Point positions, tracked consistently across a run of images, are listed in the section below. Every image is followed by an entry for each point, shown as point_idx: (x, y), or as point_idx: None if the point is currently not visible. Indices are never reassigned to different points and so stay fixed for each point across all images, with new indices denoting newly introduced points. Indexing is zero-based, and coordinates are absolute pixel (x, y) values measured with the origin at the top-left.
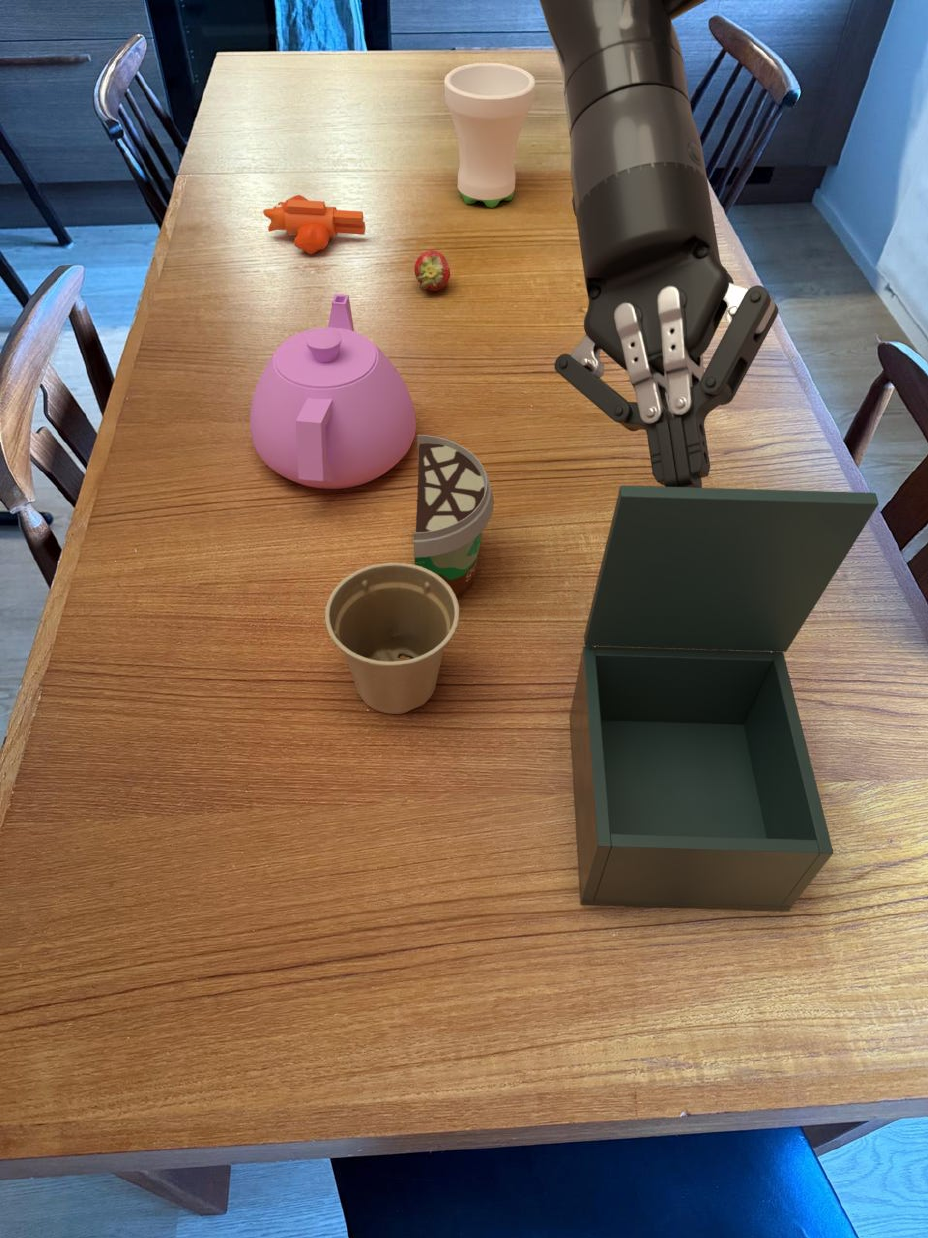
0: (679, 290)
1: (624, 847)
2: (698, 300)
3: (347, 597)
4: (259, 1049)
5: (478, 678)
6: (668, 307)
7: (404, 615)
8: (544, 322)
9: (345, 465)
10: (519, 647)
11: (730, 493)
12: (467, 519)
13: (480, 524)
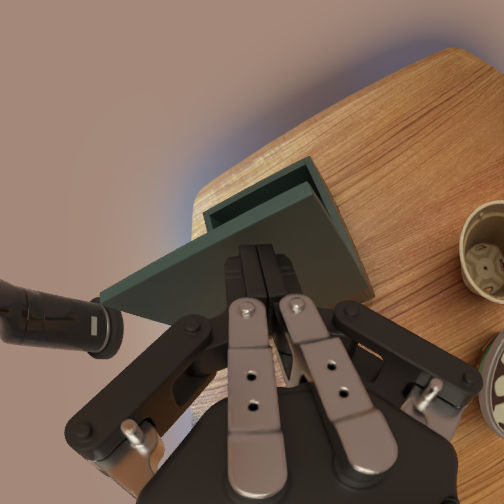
0: (238, 501)
1: (296, 162)
2: (195, 470)
3: None
4: (416, 87)
5: (440, 298)
6: (257, 448)
7: (501, 294)
8: None
9: None
10: (424, 336)
11: (198, 244)
12: (495, 361)
13: (484, 373)
